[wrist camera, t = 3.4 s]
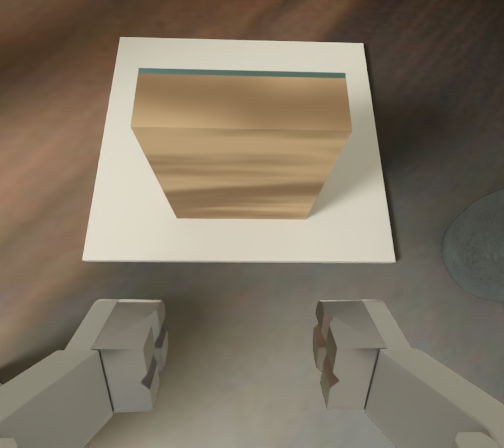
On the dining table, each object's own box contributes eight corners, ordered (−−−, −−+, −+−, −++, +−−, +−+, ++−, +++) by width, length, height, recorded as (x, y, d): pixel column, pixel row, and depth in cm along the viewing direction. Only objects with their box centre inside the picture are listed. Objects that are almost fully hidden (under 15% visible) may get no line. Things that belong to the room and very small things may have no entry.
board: (392, 263, 31) (395, 261, 30) (85, 261, 30) (82, 260, 30) (361, 47, 40) (363, 43, 39) (121, 41, 39) (120, 36, 38)
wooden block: (305, 219, 32) (352, 130, 18) (176, 218, 31) (130, 126, 18) (303, 181, 33) (345, 72, 20) (179, 179, 32) (138, 67, 19)
